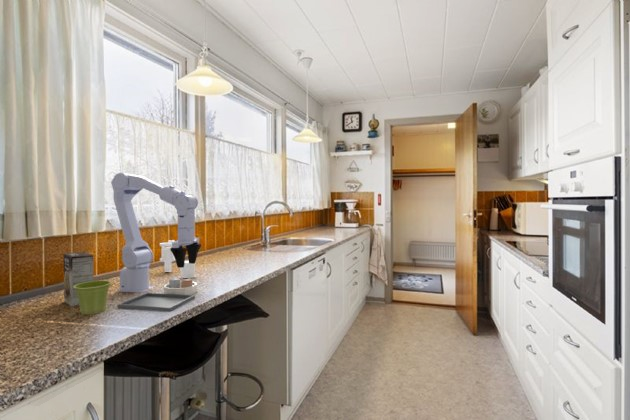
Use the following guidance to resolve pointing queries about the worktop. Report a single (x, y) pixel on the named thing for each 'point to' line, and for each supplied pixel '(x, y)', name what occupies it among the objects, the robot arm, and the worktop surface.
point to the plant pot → (92, 296)
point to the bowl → (181, 289)
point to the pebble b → (186, 283)
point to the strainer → (167, 255)
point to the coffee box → (76, 274)
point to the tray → (157, 301)
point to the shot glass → (188, 270)
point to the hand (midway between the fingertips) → (186, 265)
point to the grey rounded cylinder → (174, 283)
